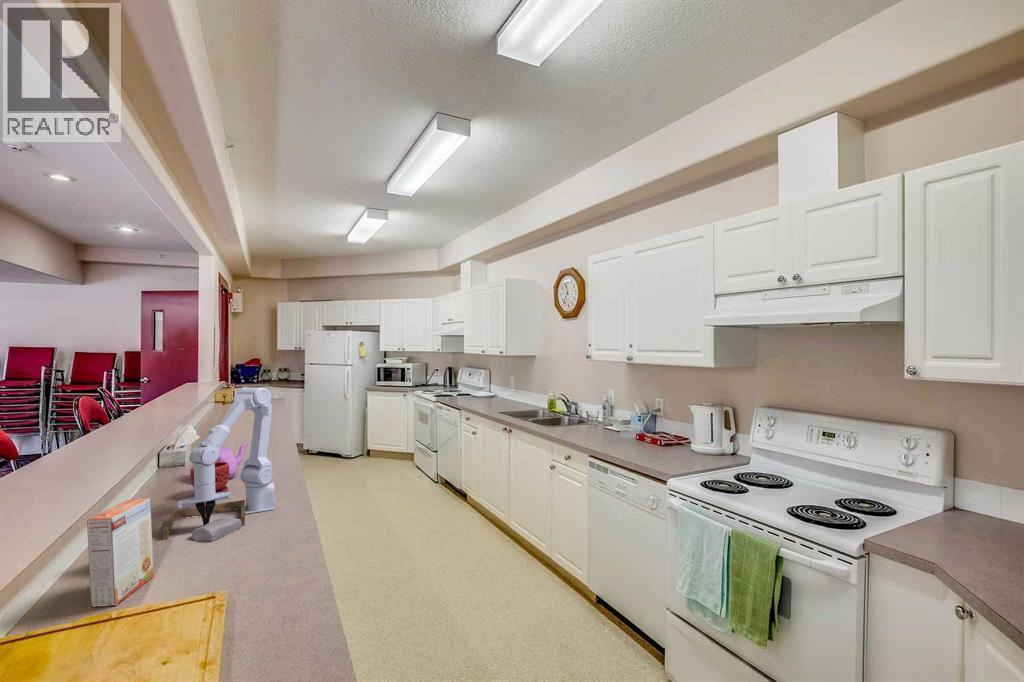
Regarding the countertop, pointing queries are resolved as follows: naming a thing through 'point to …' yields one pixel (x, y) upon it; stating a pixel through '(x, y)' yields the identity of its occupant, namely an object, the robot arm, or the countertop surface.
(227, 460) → the teapot
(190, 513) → the brown wooden open frame
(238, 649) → the countertop surface
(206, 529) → the stone block
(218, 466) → the plant pot
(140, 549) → the cracker box
